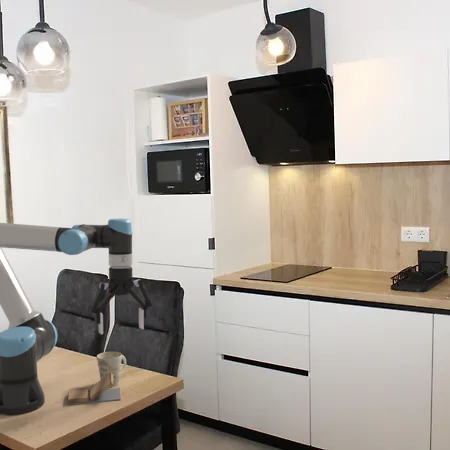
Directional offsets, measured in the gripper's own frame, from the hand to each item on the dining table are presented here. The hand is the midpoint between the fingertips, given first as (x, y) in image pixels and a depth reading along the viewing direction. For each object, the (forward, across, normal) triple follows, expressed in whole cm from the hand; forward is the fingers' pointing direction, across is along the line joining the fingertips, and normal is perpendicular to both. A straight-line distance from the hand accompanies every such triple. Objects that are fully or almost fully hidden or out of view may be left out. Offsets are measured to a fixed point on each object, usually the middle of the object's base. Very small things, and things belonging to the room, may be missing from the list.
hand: (121, 330), depth 189 cm
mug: (+20, 0, +9) cm, 22 cm away
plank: (+17, -7, -2) cm, 19 cm away
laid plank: (+20, -14, 0) cm, 25 cm away
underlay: (+20, -9, -1) cm, 22 cm away
